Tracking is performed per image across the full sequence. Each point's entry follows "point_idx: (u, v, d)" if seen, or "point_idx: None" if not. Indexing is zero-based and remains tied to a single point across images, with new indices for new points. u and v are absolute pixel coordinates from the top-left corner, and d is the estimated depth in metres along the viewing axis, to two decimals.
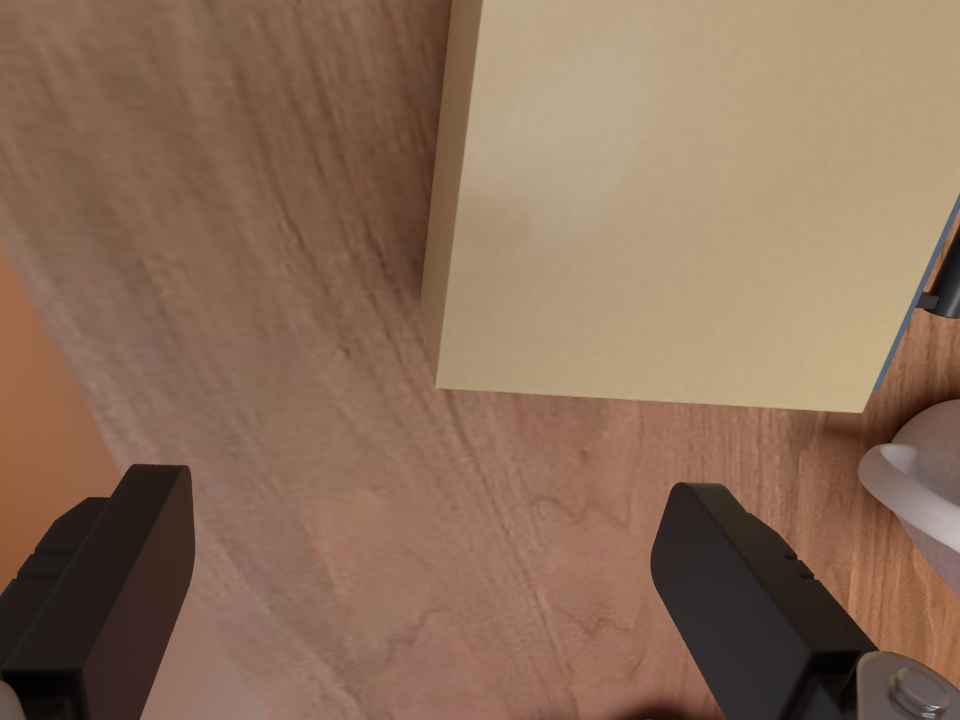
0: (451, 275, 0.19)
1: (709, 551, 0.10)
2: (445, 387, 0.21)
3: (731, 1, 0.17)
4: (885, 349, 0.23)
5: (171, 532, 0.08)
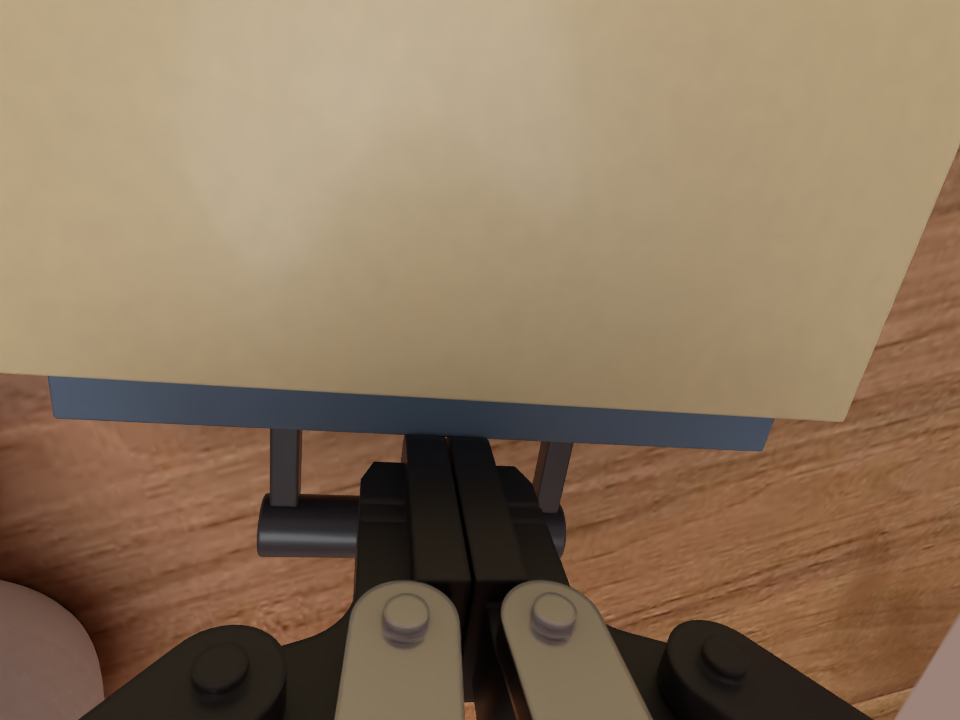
0: None
1: None
2: None
3: None
4: (173, 370, 0.09)
5: None
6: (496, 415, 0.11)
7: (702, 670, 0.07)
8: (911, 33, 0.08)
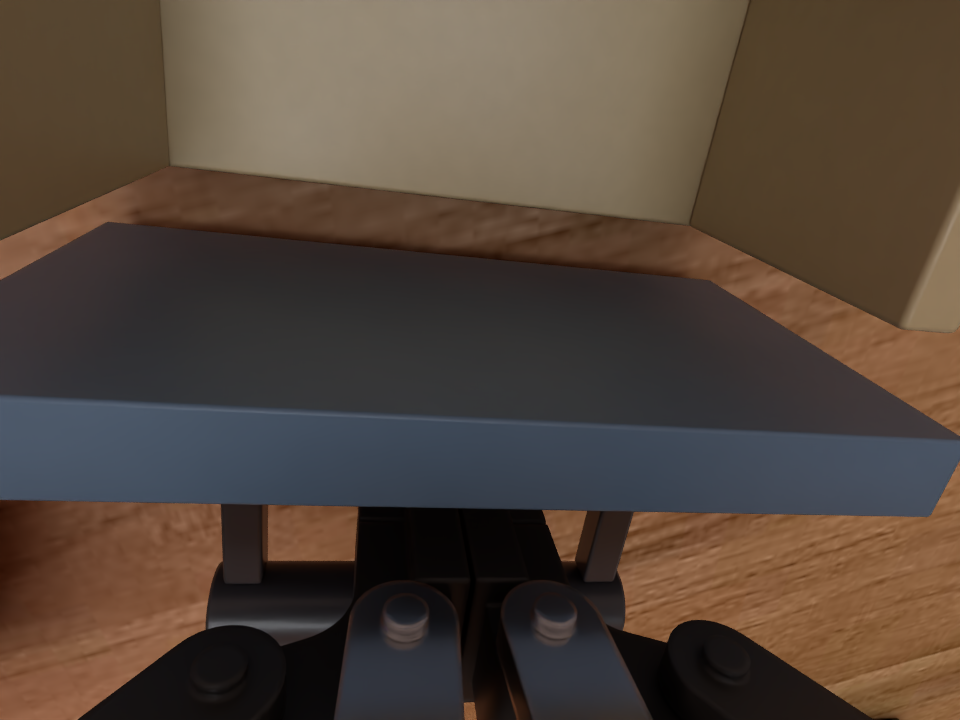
0: None
1: None
2: None
3: None
4: None
5: None
6: (552, 477, 0.07)
7: (702, 670, 0.07)
8: None
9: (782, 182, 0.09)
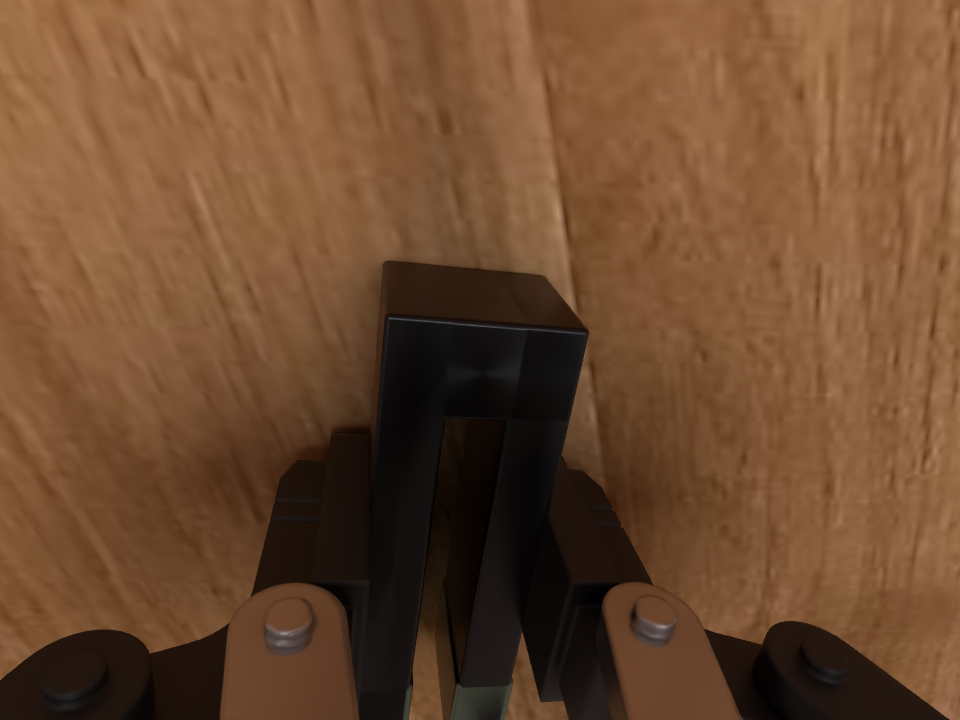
0: None
1: None
2: None
3: None
4: None
5: None
6: None
7: (804, 670, 0.07)
8: None
9: None
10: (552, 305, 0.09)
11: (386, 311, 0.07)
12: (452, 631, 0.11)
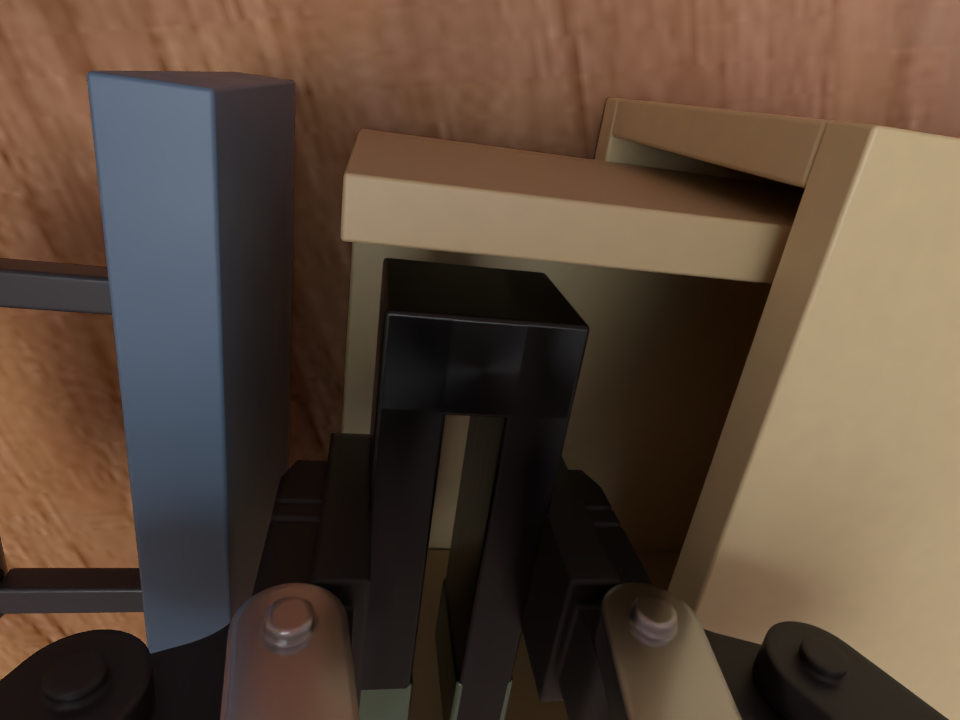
0: None
1: None
2: None
3: None
4: (804, 357, 0.08)
5: None
6: (178, 607, 0.09)
7: (803, 670, 0.07)
8: None
9: None
10: (553, 302, 0.09)
11: (386, 307, 0.07)
12: (452, 629, 0.11)
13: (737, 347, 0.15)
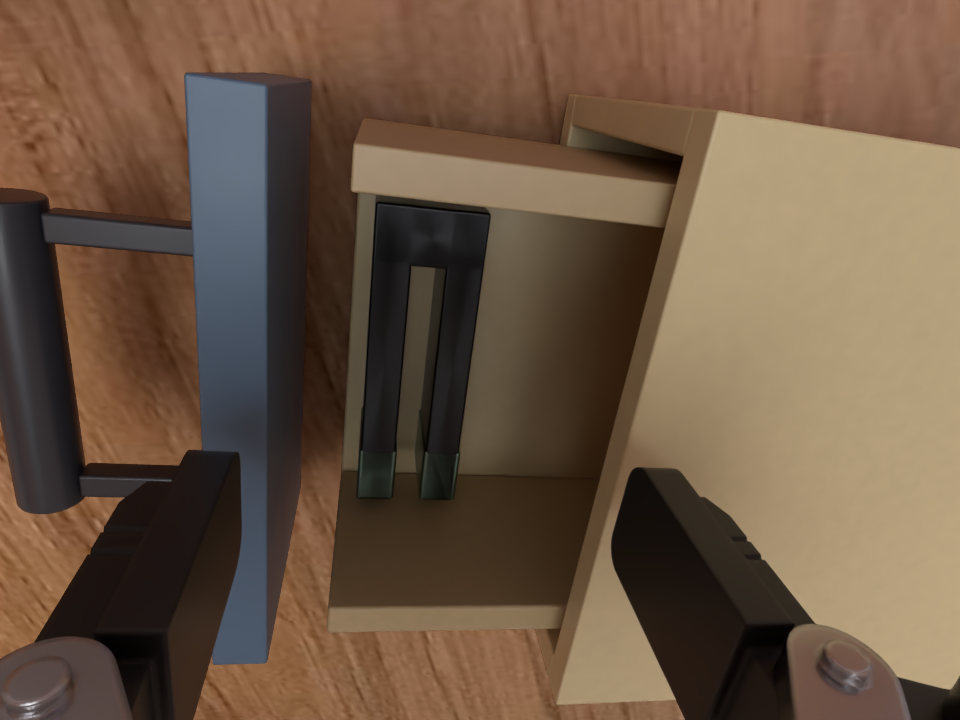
0: None
1: (661, 533, 0.10)
2: None
3: (912, 661, 0.16)
4: (684, 276, 0.11)
5: (226, 514, 0.09)
6: None
7: None
8: None
9: (381, 523, 0.17)
10: None
11: (377, 201, 0.14)
12: (423, 429, 0.17)
13: None
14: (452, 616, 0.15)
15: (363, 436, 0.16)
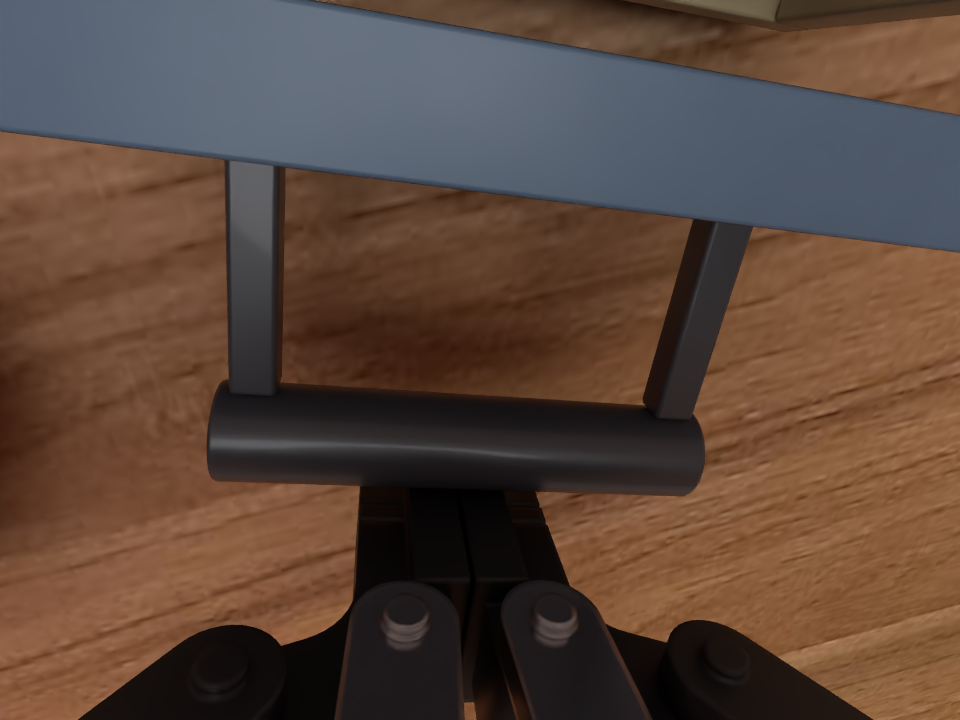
0: None
1: None
2: None
3: None
4: None
5: None
6: (670, 156, 0.05)
7: (702, 670, 0.07)
8: None
9: None
10: None
11: None
12: None
13: None
14: None
15: None
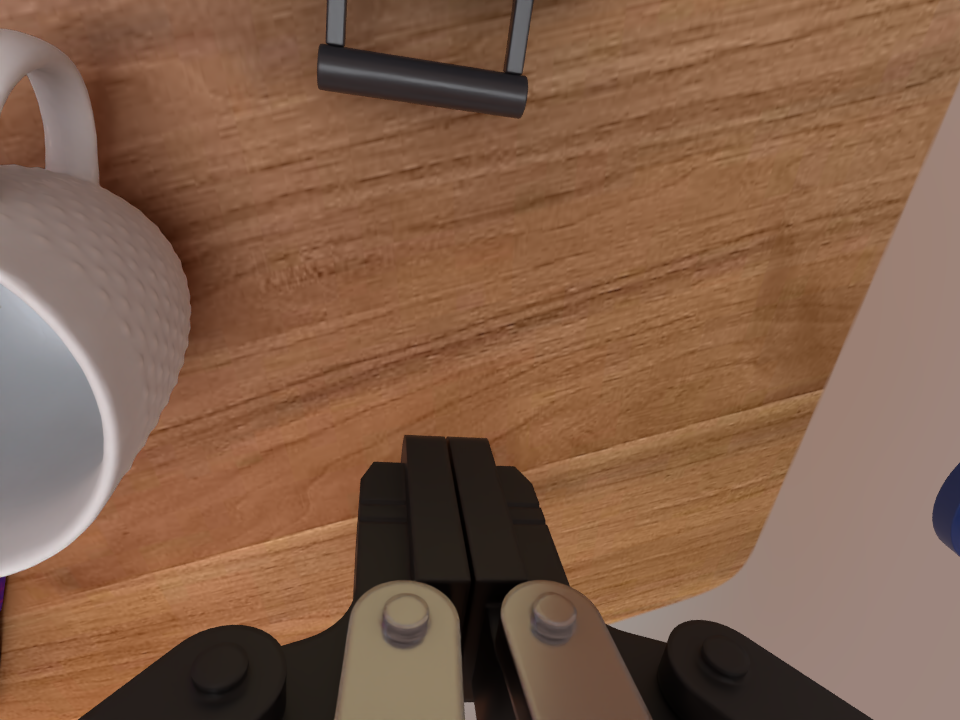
0: None
1: None
2: None
3: None
4: None
5: None
6: None
7: (702, 670, 0.07)
8: None
9: None
10: None
11: None
12: None
13: None
14: None
15: None
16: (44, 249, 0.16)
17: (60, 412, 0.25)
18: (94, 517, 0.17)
